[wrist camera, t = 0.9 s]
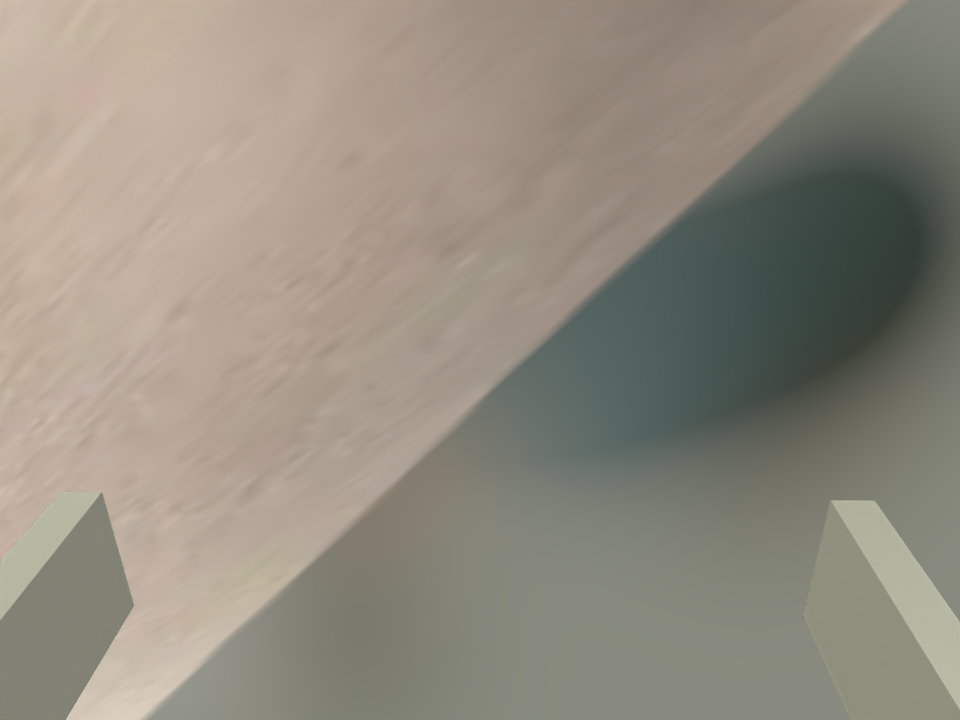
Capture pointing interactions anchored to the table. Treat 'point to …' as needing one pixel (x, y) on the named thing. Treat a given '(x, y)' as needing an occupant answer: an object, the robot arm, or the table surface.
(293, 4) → the table surface
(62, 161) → the table surface
